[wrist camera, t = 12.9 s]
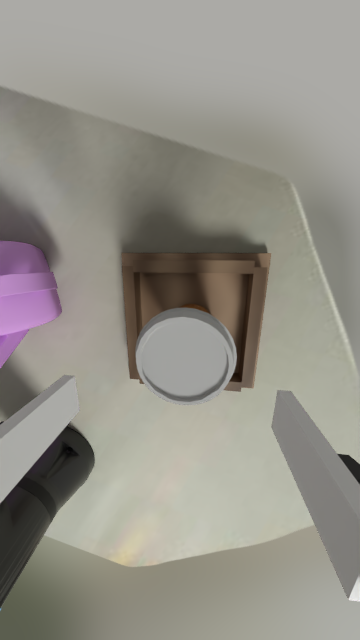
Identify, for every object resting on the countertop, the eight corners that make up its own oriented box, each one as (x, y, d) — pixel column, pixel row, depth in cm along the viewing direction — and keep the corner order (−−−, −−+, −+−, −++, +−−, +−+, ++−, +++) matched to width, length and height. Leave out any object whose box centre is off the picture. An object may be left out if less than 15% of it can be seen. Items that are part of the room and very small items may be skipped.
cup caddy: (132, 374, 33) (124, 387, 29) (124, 253, 28) (113, 251, 24) (251, 383, 31) (257, 398, 27) (268, 253, 25) (278, 251, 22)
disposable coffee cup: (179, 279, 27) (160, 289, 15) (237, 313, 27) (262, 348, 15) (149, 334, 29) (114, 377, 18) (202, 364, 30) (201, 426, 18)
